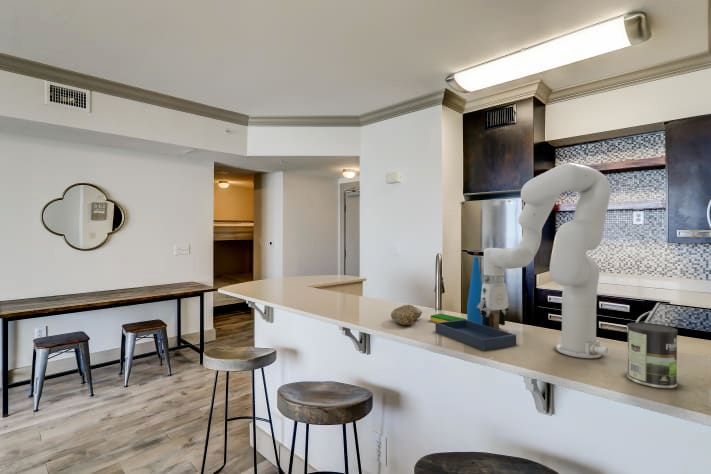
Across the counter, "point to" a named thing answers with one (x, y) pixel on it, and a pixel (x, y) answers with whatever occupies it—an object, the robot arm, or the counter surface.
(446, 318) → the dish sponge
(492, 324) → the two-tone wood block
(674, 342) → the coffee can
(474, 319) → the bottle
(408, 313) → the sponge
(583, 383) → the counter surface
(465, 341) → the baking dish
